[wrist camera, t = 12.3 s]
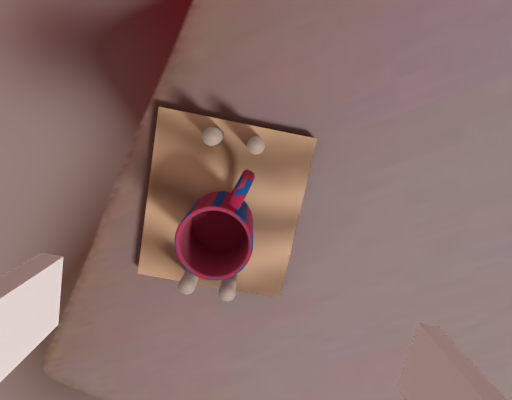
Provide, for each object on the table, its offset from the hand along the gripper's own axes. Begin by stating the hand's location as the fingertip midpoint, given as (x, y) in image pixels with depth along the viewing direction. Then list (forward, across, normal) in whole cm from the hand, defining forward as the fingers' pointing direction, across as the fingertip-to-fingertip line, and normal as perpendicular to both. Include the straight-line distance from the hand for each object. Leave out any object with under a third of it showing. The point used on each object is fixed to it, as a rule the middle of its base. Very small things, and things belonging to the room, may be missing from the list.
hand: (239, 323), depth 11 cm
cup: (+22, -2, -2) cm, 22 cm away
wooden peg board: (+23, -2, -2) cm, 23 cm away
